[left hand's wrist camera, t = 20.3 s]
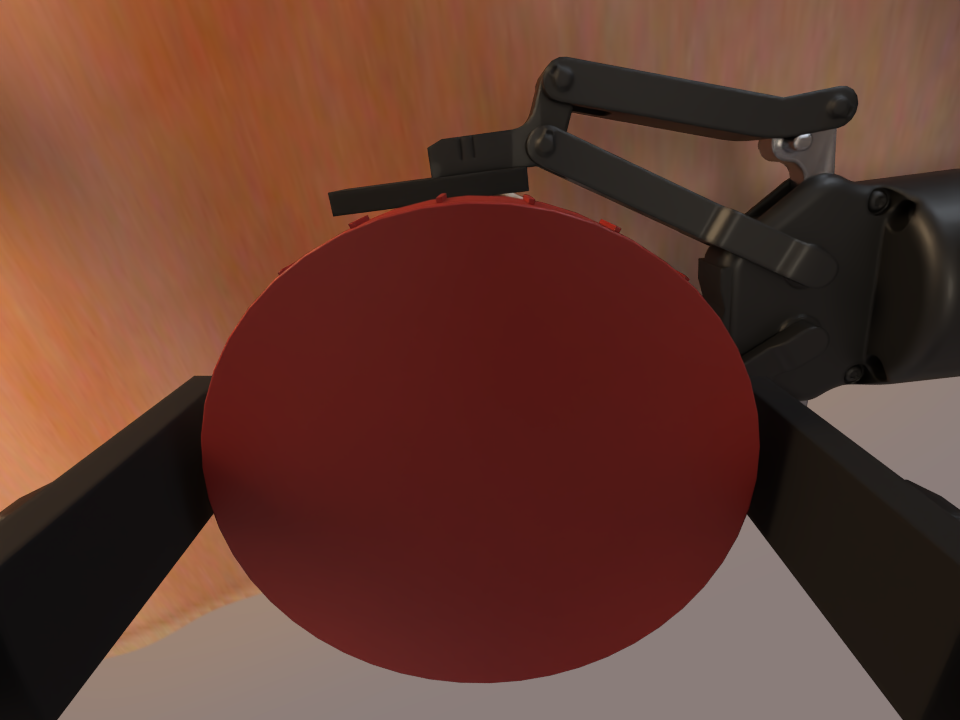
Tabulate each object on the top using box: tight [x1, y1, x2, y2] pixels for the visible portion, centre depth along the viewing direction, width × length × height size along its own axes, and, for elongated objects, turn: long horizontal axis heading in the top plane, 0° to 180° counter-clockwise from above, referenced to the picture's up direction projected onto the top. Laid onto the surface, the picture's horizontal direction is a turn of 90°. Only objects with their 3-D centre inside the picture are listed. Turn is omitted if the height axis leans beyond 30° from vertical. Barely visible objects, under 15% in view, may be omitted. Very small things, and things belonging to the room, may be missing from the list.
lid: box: [201, 193, 760, 683], centre depth 11 cm, size 11×11×2 cm
